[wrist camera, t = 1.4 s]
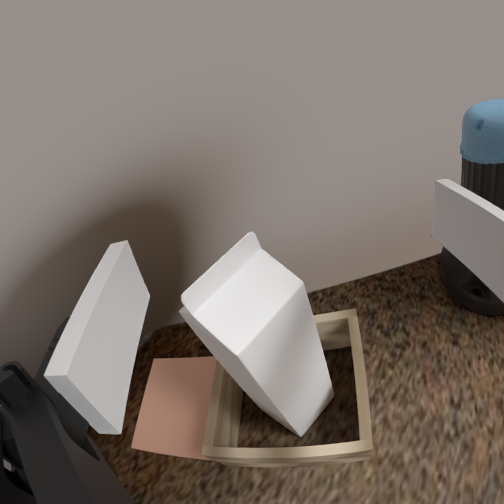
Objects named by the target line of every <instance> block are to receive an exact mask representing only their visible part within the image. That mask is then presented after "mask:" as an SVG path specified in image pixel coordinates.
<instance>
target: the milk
mask: <svg viewBox="0 0 504 504" xmlns="http://www.w3.org/2000/svg"><path fill="white" fill-rule="evenodd" d="M181 301H182V303H183V305H184V307H183V308H182V309H181V310H180V311H179V313H180V314H181V316H182V317H183V318H184V319H185V321H186V322H187V323H188V325H189V326H190V327H191V328H192V330H193V331H194V332H195V333H196V335H197V336H198V337H199V338H200V340H201V341H202V342H203V343H204V345H205V346H206V347H207V348H208V349H209V351H210V352H211V353H212V354H213V355H214V357H215V358H216V359H217V360H218V361H219V363H220V364H221V365H222V366H223V367H224V369H225V370H226V371H227V372H228V373H229V374H230V375H231V377H232V378H233V379H234V380H235V381H236V382H237V383H238V385H239V386H240V387H241V388H242V389H243V390H244V391H245V392H246V394H247V395H248V396H249V397H250V398H251V399H252V400H253V401H254V402H255V403H256V405H257V406H258V407H259V408H260V409H261V410H262V411H264V412H265V413H267V414H268V415H269V416H271V417H272V418H273V419H275V420H276V421H278V422H279V423H280V424H282V425H283V426H285V427H286V428H288V429H289V430H290V431H292V432H293V433H295V434H296V435H298V436H299V437H302V436H303V434H304V433H305V432H306V431H307V430H308V428H309V427H310V426H311V425H312V424H313V422H314V421H315V420H316V419H317V418H318V416H319V415H320V414H321V413H322V411H323V410H324V409H325V407H326V406H327V405H328V404H329V402H330V401H331V400H332V398H333V397H334V391H333V387H332V383H331V379H330V376H329V372H328V368H327V364H326V360H325V357H324V353H323V349H322V346H321V342H320V338H319V335H318V331H317V327H316V324H315V320H314V317H313V313H312V310H311V306H310V303H309V299H308V296H307V292H306V289H305V286H304V283H303V281H302V280H301V279H299V278H298V277H297V276H295V275H294V274H293V273H292V272H291V271H289V270H288V269H287V268H286V267H284V266H283V265H282V264H280V263H279V262H278V261H276V260H275V259H274V258H273V257H272V256H270V255H269V254H268V253H267V252H265V251H264V250H263V249H262V248H261V247H260V244H259V242H258V239H257V237H256V235H255V233H254V232H249V233H247V234H246V235H245V236H244V237H243V238H242V239H241V240H240V241H239V242H238V243H237V244H235V245H234V246H233V247H232V248H231V249H230V250H229V251H228V252H227V253H225V254H224V255H223V256H222V257H221V258H220V259H219V260H218V261H217V262H216V263H215V264H213V265H212V266H211V267H210V268H209V269H208V270H207V271H206V272H205V273H204V274H203V275H202V276H201V277H199V278H198V279H197V280H196V281H195V282H194V283H193V284H192V285H191V286H190V287H189V288H188V289H187V290H185V291H184V292H183V294H182V295H181Z"/></svg>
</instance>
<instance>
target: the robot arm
mask: <svg viewBox="0 0 504 504" xmlns="http://www.w3.org/2000/svg"><path fill="white" fill-rule="evenodd" d="M460 153H461V155H462V175H461V176H462V177H461V186H460V185H458V184H456V183H454V182H452V181H451V180H449V179H442V180H435V193H434V194H435V195H434V209H433V221H432V230H431V236H432V237H433V238H434V239H436V240H437V241H438V242H439V243H440V244H442V245H443V249H442V253H441V260H440V275H441V279H442V281H443V284H444V286H445V288H446V289H447V291H448V292H449V293H450V295H451V296H452V297H453V298H454V299H455V300H456V301H457V302H459V303H460V304H461V305H463V306H464V307H466V308H468V309H470V310H472V311H474V312H477V313H480V314H484V315H493V316H496V315H504V99H497V100H488V101H484V102H480V103H477V104H475V105H473V106H472V107H470V108H469V109H468V110H467V112H466V113H465V115H464V117H463V122H462V142H461V145H460ZM149 299H150V294H149V292H148V290H147V288H146V285H145V284H144V281H143V278H142V276H141V274H140V271H139V269H138V266H137V264H136V261H135V259H134V256H133V254H132V251H131V249H130V246H129V244H128V241H127V240H126V241H122V242H118V243H114V244H111V245H110V246H109V248H108V249H107V251H106V253H105V255H104V256H103V258H102V260H101V261H100V263H99V265H98V266H97V268H96V270H95V272H94V273H93V275H92V277H91V279H90V281H89V282H88V284H87V286H86V288H85V290H84V292H83V294H82V296H81V297H80V299H79V301H78V303H77V305H76V307H75V309H74V311H73V313H72V315H71V317H67V319H66V320H65V321H64V322H63V323H62V324H61V325H60V326H59V327H58V329H57V331H56V333H55V335H54V337H53V341H52V342H51V344H50V346H49V348H48V349H49V350H48V351H47V352H46V354H45V356H44V359H43V361H42V363H41V365H40V368H39V370H38V372H37V375H36V377H35V379H33V378H32V377H31V376H30V375H29V374H28V372H27V371H26V370H25V369H24V368H23V366H22V365H21V364H20V363H19V362H16V361H12V362H8V363H6V364H4V365H3V366H1V367H0V404H1V405H2V406H3V407H0V504H136V502H135V501H134V500H133V499H132V497H131V496H130V495H129V493H128V492H127V491H126V489H125V488H124V487H123V485H122V484H121V482H120V481H119V480H118V478H117V477H116V475H115V474H114V472H113V471H112V469H111V468H110V466H109V465H108V463H107V462H106V460H105V459H104V457H103V456H102V454H101V452H100V451H99V449H98V447H97V446H96V444H95V442H94V441H93V439H92V438H91V437H90V436H89V435H88V434H87V430H88V425H89V424H90V425H91V426H92V427H93V428H94V429H95V430H96V431H97V432H98V433H99V434H121V432H122V426H123V420H124V414H125V408H126V402H127V397H128V392H129V386H130V381H131V376H132V371H133V366H134V362H135V357H136V353H137V348H138V344H139V339H140V335H141V331H142V327H143V322H144V318H145V314H146V310H147V307H148V302H149ZM3 459H5V460H6V461H7V462H9V463H10V464H11V468H12V469H11V471H9V470H8V469H6V468H5V467H4V464H3Z"/></svg>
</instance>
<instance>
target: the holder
mask: <svg viewBox="0 0 504 504" xmlns="http://www.w3.org/2000/svg"><path fill="white" fill-rule="evenodd" d="M313 317H314V320H315V324H316V327H317V331H318V335H319V338H320V342H321V346H322V349H323V351H325V350H332V349H338V348H344V347H350V346H351V349H352V358H353V366H354V376H355V386H356V396H357V408H358V422H359V438H360V440H359V441H352V442H345V443H337V444H327V445H317V446H303V447H283V448H237V446H238V436H239V427H240V418H241V408H242V399H243V389H242V388H241V387H240V386H239V385H238V383H237V382H236V381H235V380H234V379H233V378H232V377H231V375H230V374H229V373H228V372H227V371H226V370H225V369H224V367H223V366H222V365H221V364H220V363H219V361H218V360H217V361H216V367H215V373H214V379H213V385H212V391H211V398H210V404H209V410H208V417H207V423H206V430H205V436H204V443H203V449H202V456H205V457H207V458H209V459H211V460H214V461H216V462H219V463H221V464H223V465H226V466H239V467H302V466H318V465H330V464H339V463H348V462H356V461H363V460H369V459H371V455H372V450H373V446H372V432H371V419H370V408H369V398H368V389H367V381H366V372H365V365H364V357H363V350H362V344H361V337H360V331H359V324H358V318H357V313H356V308H354V309H349V310H343V311H337V312H332V313H326V314H320V315H314V316H313Z"/></svg>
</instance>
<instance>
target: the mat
mask: <svg viewBox="0 0 504 504" xmlns="http://www.w3.org/2000/svg"><path fill="white" fill-rule="evenodd" d="M216 361H217V359H216V358H215V357H214V356H211V357H192V358H161V359H154V360H153V364H152V367H151V371H150V375H149V378H148V382H147V386H146V389H145V393H144V397H143V401H142V404H141V408H140V412H139V416H138V420H137V424H136V428H135V433H134V437H133V441H132V445H131V448H133V449H136V450H141V451H146V452H152V453H157V454H163V455H170V456H176V457H184V458H192V459H200V460H211V459H209V458H207V457H205V456H202V449H203V443H204V436H205V430H206V423H207V417H208V410H209V404H210V398H211V391H212V385H213V379H214V373H215V367H216ZM211 461H214V460H211Z"/></svg>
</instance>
